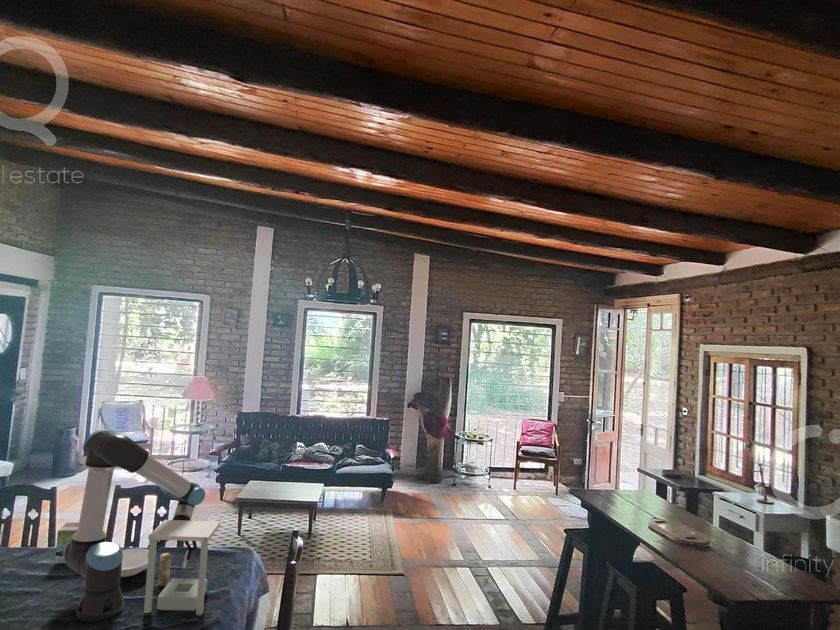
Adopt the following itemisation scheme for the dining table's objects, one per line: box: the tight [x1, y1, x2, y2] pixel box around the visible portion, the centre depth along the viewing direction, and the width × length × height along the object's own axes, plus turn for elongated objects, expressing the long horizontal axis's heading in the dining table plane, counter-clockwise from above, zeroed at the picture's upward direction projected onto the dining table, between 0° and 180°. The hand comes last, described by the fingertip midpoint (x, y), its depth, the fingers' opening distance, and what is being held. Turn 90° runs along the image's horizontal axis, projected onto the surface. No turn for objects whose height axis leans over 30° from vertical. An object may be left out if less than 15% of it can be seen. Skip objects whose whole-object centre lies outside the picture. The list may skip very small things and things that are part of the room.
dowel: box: [157, 552, 172, 587], centre depth 214 cm, size 4×4×12 cm
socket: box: [143, 519, 221, 616], centre depth 202 cm, size 22×17×30 cm
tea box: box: [54, 521, 79, 565], centre depth 230 cm, size 15×10×15 cm
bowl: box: [121, 547, 149, 578], centre depth 220 cm, size 20×20×6 cm
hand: (166, 567), depth 215 cm, fingers open, 13 cm apart
